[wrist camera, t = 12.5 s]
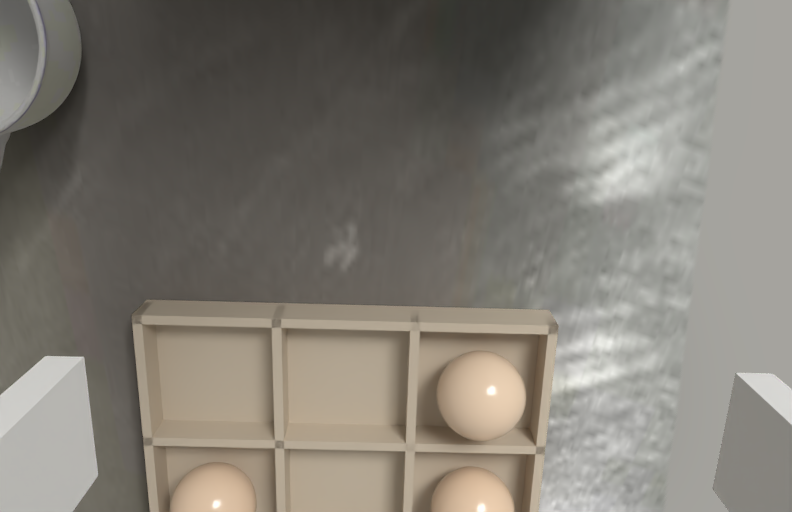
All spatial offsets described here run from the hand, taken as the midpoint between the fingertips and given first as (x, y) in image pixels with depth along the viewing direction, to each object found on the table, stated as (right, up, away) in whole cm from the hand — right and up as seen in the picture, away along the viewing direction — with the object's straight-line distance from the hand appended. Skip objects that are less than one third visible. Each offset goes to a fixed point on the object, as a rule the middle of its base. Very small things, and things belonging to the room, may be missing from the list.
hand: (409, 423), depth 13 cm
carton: (-4, -8, +33) cm, 34 cm away
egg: (-12, -12, +33) cm, 38 cm away
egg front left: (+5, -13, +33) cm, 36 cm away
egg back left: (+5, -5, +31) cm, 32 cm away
